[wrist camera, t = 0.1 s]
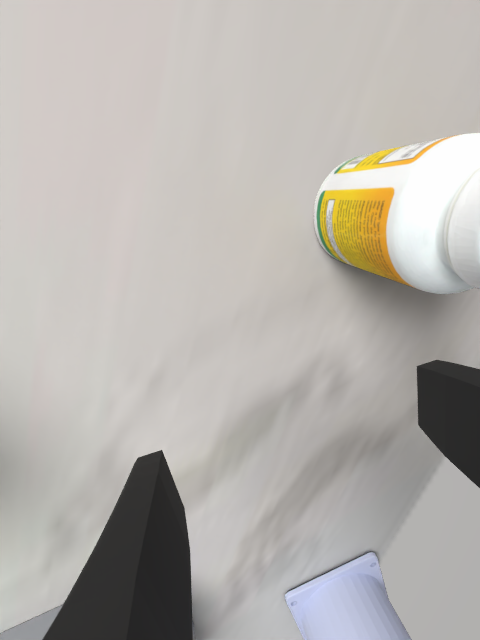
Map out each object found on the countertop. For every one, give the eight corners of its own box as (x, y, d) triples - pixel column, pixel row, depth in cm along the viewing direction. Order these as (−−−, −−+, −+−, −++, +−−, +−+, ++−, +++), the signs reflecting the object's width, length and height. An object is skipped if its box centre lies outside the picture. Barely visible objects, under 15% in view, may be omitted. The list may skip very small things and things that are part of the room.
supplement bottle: (350, 133, 17) (568, 55, 8) (420, 196, 18) (659, 193, 10) (289, 229, 17) (422, 259, 9) (361, 280, 19) (531, 348, 11)
